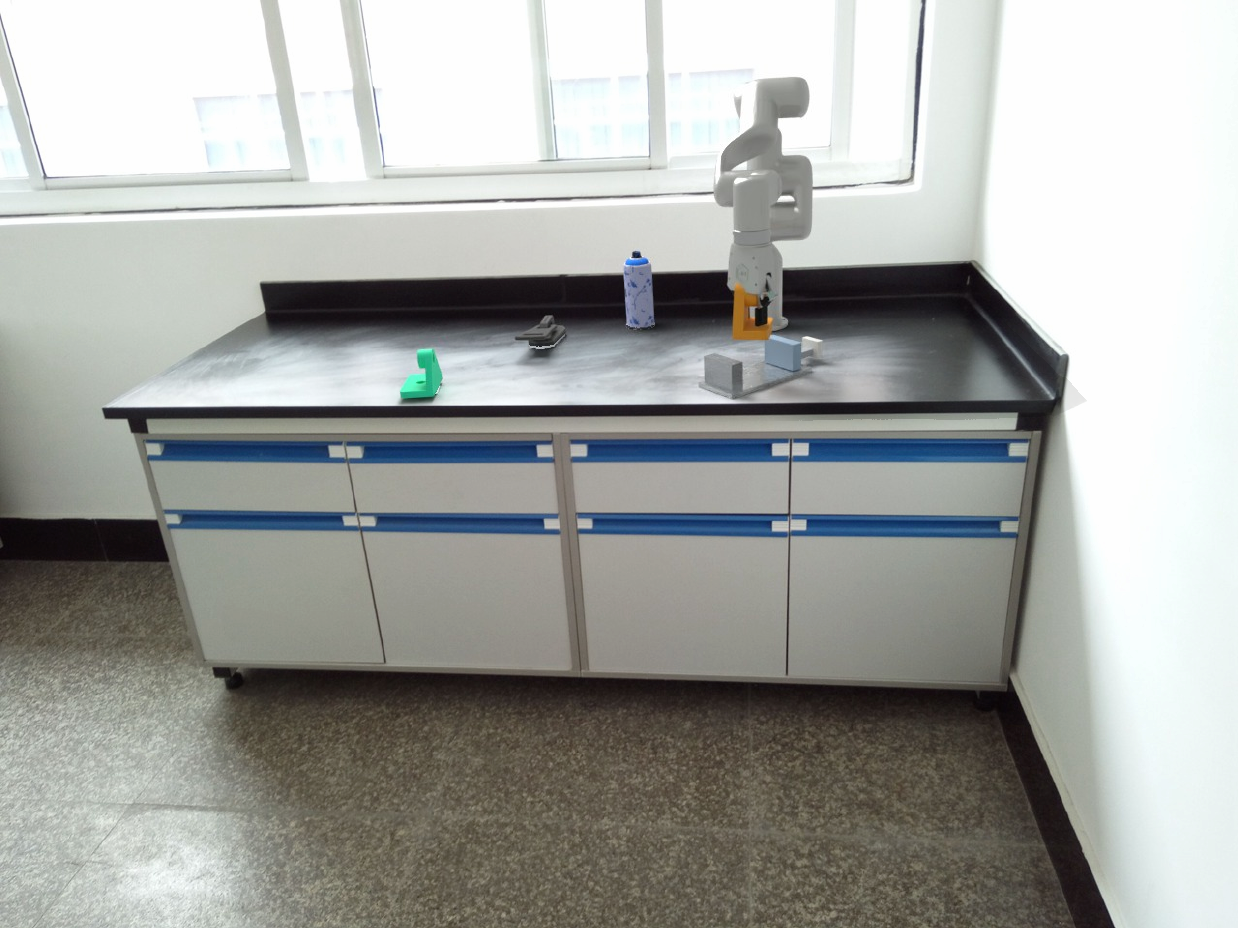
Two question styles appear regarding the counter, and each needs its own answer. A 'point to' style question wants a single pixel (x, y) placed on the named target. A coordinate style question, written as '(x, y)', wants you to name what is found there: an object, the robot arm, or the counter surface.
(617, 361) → the counter surface
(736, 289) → the bracket
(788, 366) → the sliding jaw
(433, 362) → the camera mount
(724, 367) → the vise
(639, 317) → the aerosol can
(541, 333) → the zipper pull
